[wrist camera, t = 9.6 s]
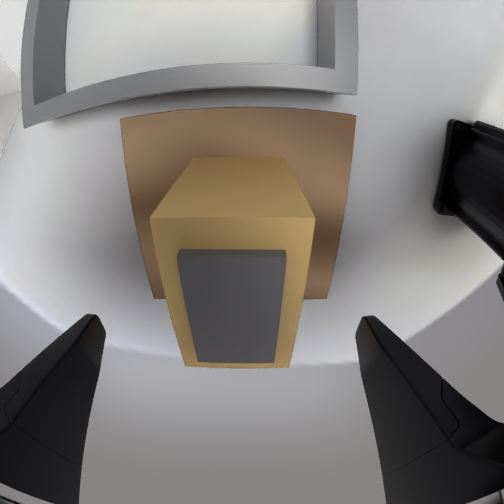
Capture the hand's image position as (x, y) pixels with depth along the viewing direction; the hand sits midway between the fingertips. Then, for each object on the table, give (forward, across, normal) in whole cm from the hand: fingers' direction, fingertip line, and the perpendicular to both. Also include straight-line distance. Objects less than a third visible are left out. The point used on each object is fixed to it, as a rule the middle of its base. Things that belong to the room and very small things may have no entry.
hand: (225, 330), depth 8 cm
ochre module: (+8, 0, 0) cm, 8 cm away
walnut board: (+8, 0, 0) cm, 8 cm away
